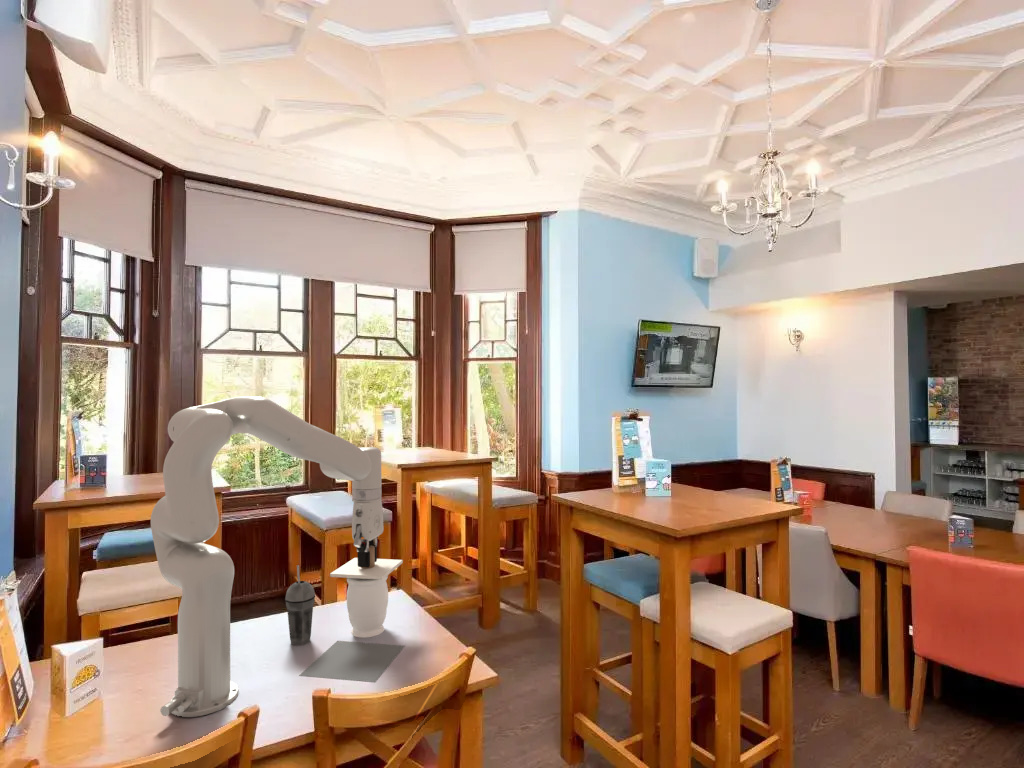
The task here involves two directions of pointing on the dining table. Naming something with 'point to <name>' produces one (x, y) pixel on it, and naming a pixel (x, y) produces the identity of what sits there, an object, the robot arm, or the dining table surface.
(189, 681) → the robot arm
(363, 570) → the lid
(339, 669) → the mat
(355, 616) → the jar
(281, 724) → the dining table surface
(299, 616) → the beverage cup
